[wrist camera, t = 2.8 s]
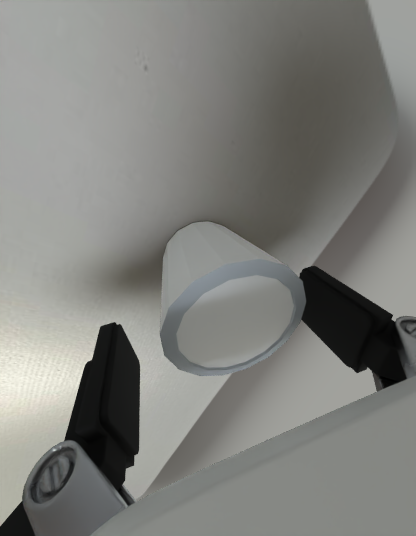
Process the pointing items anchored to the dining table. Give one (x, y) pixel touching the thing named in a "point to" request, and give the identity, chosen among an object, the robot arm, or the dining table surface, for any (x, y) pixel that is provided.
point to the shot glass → (224, 301)
